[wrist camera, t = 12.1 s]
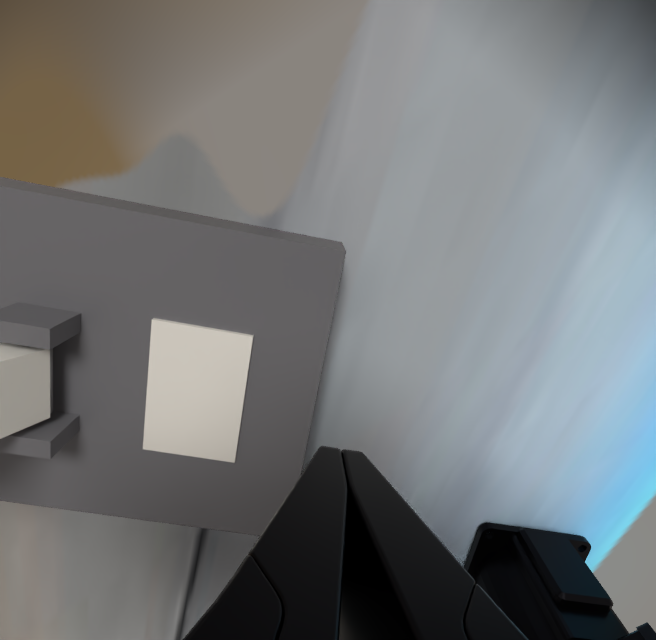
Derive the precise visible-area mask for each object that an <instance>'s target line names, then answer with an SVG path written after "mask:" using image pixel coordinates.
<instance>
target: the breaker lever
mask: <svg viewBox="0 0 656 640" xmlns="http://www.w3.org/2000/svg"><path fill="white" fill-rule="evenodd" d="M52 412H53V348H52V349H51V350H47V349H41V348H35V347H29V346H23V345H17V344H10V343H4V342H3V343H0V439H1V438H3V437H6V436H8V435H11V434H13V433H15V432H18V431H20V430H22V429H25V428H27V427H29V426H32V425H34V424H36V423H39V422H41V421H43V420H46V419H48V418H50V414H51V413H52Z"/></svg>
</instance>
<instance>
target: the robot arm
mask: <svg viewBox="0 0 656 640" xmlns="http://www.w3.org/2000/svg"><path fill="white" fill-rule="evenodd" d="M488 532H490V533H488ZM486 533H487V534H486ZM590 550H591V545H590V543H589V542H588V541H587V540H586V538H585V537H583V536H577V535H570V534H563V533H557V532H550V531H543V530H536V529H529V528H522V527H515V526H508V525H501V524H494V523H485V524H482V525H481V526H480V527H479V529H478V532H477V534H476V537H475V540H474V543H473V545H472V548H471V551H470V554H469V556H468V559H467V562H466V564H465V567H463V566H462V565H461V564H460V563H459V562H458V561H457V560H456V558H455V557H454V556H453V555H452V554H451V553H450V552H449V550H448V549H447V548H446V547H445V546H444V545H443V544H442V542H441V541H440V540H439V539H438V538H437V537H436V536H435V534H434V533H433V532H432V531H431V530H430V529H429V528H428V526H427V525H426V524H425V523H424V522H423V521H422V520H421V519H420V517H419V516H418V515H417V514H416V513H415V512H414V511H413V509H412V508H411V507H410V506H409V505H408V504H407V503H406V501H405V500H404V499H403V498H402V497H401V496H400V495H399V493H398V492H397V491H396V490H395V489H394V488H393V487H392V485H391V484H390V483H389V482H388V481H387V480H386V479H385V478H384V476H383V475H382V474H381V473H380V472H379V471H378V470H377V468H376V467H375V466H374V465H373V464H372V463H371V462H370V460H369V459H368V458H367V457H366V456H365V455H364V454H363V453H362V452H359V451H352V450H342V451H341V450H340V449H338V448H332V447H325V446H321V447H320V448H319V449H318V450H317V452H316V453H315V455H314V456H313V458H312V459H311V461H310V462H309V464H308V465H307V467H306V468H305V470H304V471H303V473H302V474H301V476H300V477H299V479H298V480H297V482H296V483H295V485H294V486H293V488H292V489H291V491H290V492H289V494H288V495H287V497H286V498H285V500H284V501H283V503H282V504H281V506H280V507H279V509H278V510H277V512H276V513H275V515H274V516H273V518H272V519H271V521H270V522H269V524H268V525H267V527H266V528H265V530H264V531H263V533H262V534H261V536H260V537H259V539H258V540H257V542H256V543H255V545H254V546H253V548H252V549H251V551H250V552H249V555H248V556H247V557H246V558H245V559H244V561H243V562H242V564H241V565H240V567H239V568H238V570H237V571H236V573H235V574H234V576H233V577H232V578H231V580H230V581H229V582H228V584H227V585H226V587H225V588H224V589H223V591H222V592H221V593H220V595H219V596H218V598H217V599H216V600H215V602H214V603H213V604H212V605H211V607H210V608H209V609H208V610H207V611H206V613H205V614H204V615H203V616H202V617H201V619H200V620H199V621H198V622H197V623H196V625H195V626H194V627H193V628H192V629H191V631H190V632H189V633H188V634H187V635H186V636H185V638H184V639H183V640H656V633H655V631H654V630H653V629H652V628H651V626H650V625H649V624H648V623H645V624H643V625H640V626H638V627H636V628H637V630H636V631H634V632H632V633H630V634H629V633H628V631H627V630H626V628H625V627H624V625H623V624H622V622H621V621H620V620H619V618H618V617H617V615H616V614H615V613H614V611H613V610H612V606H613V602H612V600H611V598H610V597H609V595H608V594H607V593H606V591H605V590H604V589H603V587H602V586H601V584H600V583H599V581H598V580H597V579H596V577H595V576H594V574H593V573H592V572H591V570H590V569H589V567H588V566H587V565H586V563H585V560H586V558H587V556H588V554H589V552H590Z"/></svg>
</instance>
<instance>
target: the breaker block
mask: <svg viewBox="0 0 656 640" xmlns="http://www.w3.org/2000/svg"><path fill="white" fill-rule="evenodd" d="M345 254H346V250H345V248H344V246H343V244H342V242H337V241H332V240H327V239H322V238H316V237H311V236H306V235H301V234H296V233H290V232H285V231H280V230H275V229H269V228H264V227H259V226H254V225H249V224H243V223H238V222H233V221H228V220H222V219H217V218H212V217H207V216H202V215H196V214H191V213H186V212H181V211H175V210H170V209H165V208H160V207H155V206H149V205H144V204H139V203H134V202H128V201H123V200H118V199H113V198H108V197H102V196H97V195H92V194H87V193H81V192H76V191H71V190H66V189H61V188H55V187H50V186H45V185H40V184H34V183H28V182H24V181H19V180H13V179H8V178H3V177H0V343H3V342H4V343H10V344H17V345H23V346H29V347H35V348H41V349H47V350H51V349H52V348H53V412H52V413H51V414H50V418H48V419H46V420H43V421H41V422H39V423H36V424H34V425H32V426H29V427H27V428H25V429H22V430H20V431H18V432H15V433H13V434H11V435H8V436H6V437H3V438H1V439H0V501H7V502H14V503H22V504H29V505H36V506H44V507H51V508H58V509H66V510H73V511H81V512H88V513H95V514H103V515H110V516H118V517H125V518H132V519H140V520H147V521H154V522H162V523H169V524H177V525H184V526H191V527H199V528H206V529H214V530H221V531H228V532H236V533H243V534H250V535H258V536H261V534H262V533H263V531H264V530H265V528H266V527H267V525H268V524H269V522H270V521H271V519H272V518H273V516H274V515H275V513H276V512H277V510H278V509H279V507H280V506H281V504H282V503H283V501H284V500H285V498H286V497H287V495H288V494H289V492H290V491H291V489H292V488H293V486H294V485H295V483H296V482H297V480H298V479H299V477H300V476H301V471H302V466H303V461H304V456H305V451H306V446H307V442H308V437H309V432H310V427H311V422H312V417H313V412H314V407H315V402H316V397H317V392H318V387H319V382H320V377H321V373H322V368H323V363H324V358H325V353H326V348H327V343H328V338H329V333H330V328H331V323H332V318H333V313H334V308H335V304H336V299H337V294H338V289H339V284H340V279H341V274H342V269H343V264H344V259H345Z"/></svg>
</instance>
